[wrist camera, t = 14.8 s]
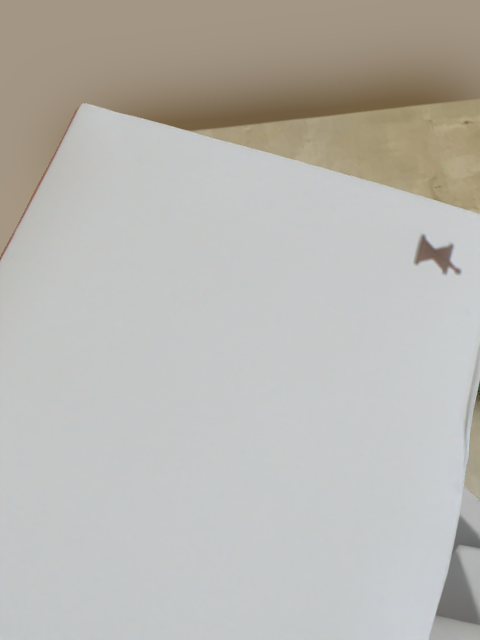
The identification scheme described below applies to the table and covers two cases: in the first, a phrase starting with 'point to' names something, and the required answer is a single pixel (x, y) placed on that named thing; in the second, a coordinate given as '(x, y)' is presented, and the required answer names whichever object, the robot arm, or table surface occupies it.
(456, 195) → the table surface
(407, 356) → the small box
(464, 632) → the robot arm
